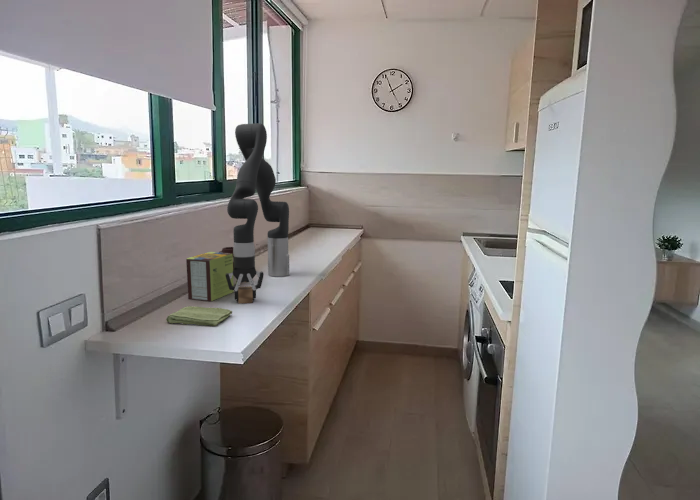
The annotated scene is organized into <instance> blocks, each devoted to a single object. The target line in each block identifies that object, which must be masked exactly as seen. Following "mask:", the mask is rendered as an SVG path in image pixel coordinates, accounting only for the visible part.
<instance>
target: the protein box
mask: <svg viewBox="0 0 700 500" xmlns="http://www.w3.org/2000/svg"><path fill="white" fill-rule="evenodd" d="M219 252H220V251H218V252H217V251H207V252H206V253H205V252H204V253H201V254H197V255H195V256H190V257H187V258H185V260H186V261H185V262H186V263H185V264H186V279H187V281H186V282H187V296H188V297H187V299H188V300H194V301H203V302H213V301H215V300H218V299H221V298H222V297H225V296H227V295H230V294H232V293H234V290H230V289H229V286H228V283H227V279H226V275H225V274H226V273H231V272H233V254H232V253H219ZM230 280H231V283H232V286H235V285H233V275H232V278H231V279H230Z"/></svg>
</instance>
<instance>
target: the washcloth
mask: <svg viewBox="0 0 700 500" xmlns="http://www.w3.org/2000/svg"><path fill="white" fill-rule="evenodd" d="M230 315H233V311H232V310H231V309H227V308H222V307H201V306H192V305H189V306H185V307H182V308H180V309H179V310H178V311H174V312H173V313H171V314H169V315H167V317H166V319H165V321H166V323H168V322H170V323H169V324H173V323H183V324H182V325H186V324H196V325H195V326H208V325H209V326H210V327H211V326H212V327H217V326H218V324H220V323H221V322H222V321H225V320H226V319H227V318H228V317H230ZM209 326H208V327H209Z"/></svg>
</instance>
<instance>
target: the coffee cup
mask: <svg viewBox="0 0 700 500" xmlns="http://www.w3.org/2000/svg"><path fill="white" fill-rule="evenodd" d="M218 252H219V253H232V254H233V246H225V247H223V248H222V249H221V250H220V251H218ZM233 270H234V256H233ZM236 281H237V279H236V278H235V277H234V275H233V285H234V286H235V284H236Z"/></svg>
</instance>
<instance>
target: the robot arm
mask: <svg viewBox="0 0 700 500" xmlns="http://www.w3.org/2000/svg"><path fill="white" fill-rule="evenodd" d="M234 131H235V132H234V135H235V136H234V137H235V140H236V143H237V146H238V148H239V150H240V153H241V154H242V156H243V158H244V160H245V161H244V163H243V164H242V165H241V166H240V168H239V170H238V173H237V177H236V181H235V182H236V183H235V188H234V191H233V193H232V196H231V197H230V199H229V201H228V203H227V214H228V216H229V217H230V218H231V219H238V220H239V219H241V220H243V219H245V220H246V223H243V224H239V225H235V226H234V227H233V231H232V233H233V246H232V247H233V256H234V270H233V272H231V273H226V274H225V275H226V279H227V283H228V286H229V289H230V290H234V292H233V293H234V300H236V302H238V301H239V300H238V288H239V287H240V285H241V283H249V284H250V286H252V289H253V301H255V299H256V298H257V290H258V289H261V288H262V283H263V279H264V275H265V273H264V271H262V270H261V271H257V269H256V261H255V260H256V255H255V254H256V251H255V250H256V249H255V243H254V239H255V238H254V237H255V235H254V234H255V233H254V230H255V223H256V219H257V216H258V211H259V204H258V202H257V201H256V199H253V198H251V197H253V196H254V195H255V192H257V196H258V199H259V201H260V202H259V203H260V208H261V210H262V215H263V217H264V219H265V220H266V222H270V223H279V225H278V226H277V227H275V228H272V229H270V230H267V270H268V271H267V273H268V276H269V277H275V278H276V277H277V278H278V277H286V276H290V254H289V229H290V228H289V227H290V225H289V223H290V207H289V203H288V202H287V201H273V200H271V199H270V197H271V194H272V192H273V191H274V188H275V186H276V184H277V183H276V182H277V181H276V176H275V173H274V169H273V167H272V165H271V164H270V163H269V162H268V161H267V160H265V159H264V158H263V156H264V152H265V149H266V145H267V141H268V133H267V129H266V127H265V125H264V124H262V123H256V122H253V123H241V124H238V125H237V126H236V127H235V130H234ZM232 275H234V277H235V278H236V279H237V281H236V284H235V285H234V286H232V283H231V280H230V279H231V278H232ZM256 275H257V278H258V279H257V284H255V282H254V280H253V279H254V278H255V276H256Z"/></svg>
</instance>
